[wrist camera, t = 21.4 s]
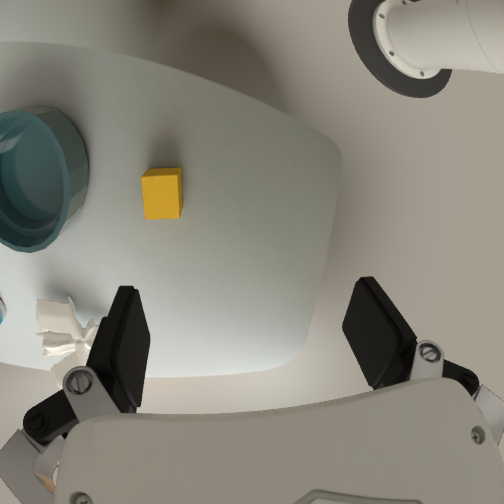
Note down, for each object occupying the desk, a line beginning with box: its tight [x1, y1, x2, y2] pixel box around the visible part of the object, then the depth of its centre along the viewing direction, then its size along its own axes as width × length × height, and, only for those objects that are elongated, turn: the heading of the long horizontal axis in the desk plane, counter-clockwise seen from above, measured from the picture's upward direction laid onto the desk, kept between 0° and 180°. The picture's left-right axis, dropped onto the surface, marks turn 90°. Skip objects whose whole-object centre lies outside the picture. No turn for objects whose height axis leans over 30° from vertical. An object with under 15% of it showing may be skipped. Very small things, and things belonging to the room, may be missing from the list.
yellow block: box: [141, 167, 183, 220], centre depth 30 cm, size 4×5×4 cm
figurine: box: [36, 296, 99, 389], centre depth 37 cm, size 15×12×14 cm
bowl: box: [0, 106, 88, 253], centre depth 24 cm, size 18×18×6 cm
